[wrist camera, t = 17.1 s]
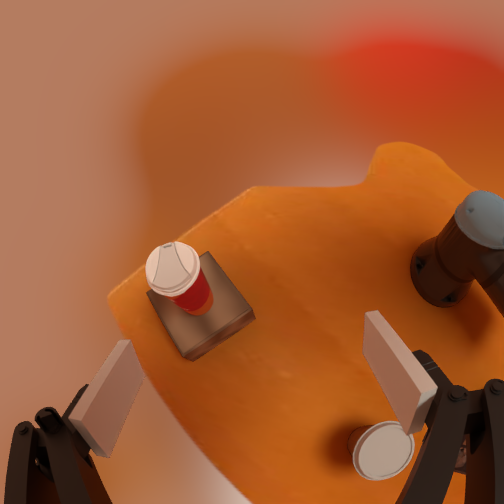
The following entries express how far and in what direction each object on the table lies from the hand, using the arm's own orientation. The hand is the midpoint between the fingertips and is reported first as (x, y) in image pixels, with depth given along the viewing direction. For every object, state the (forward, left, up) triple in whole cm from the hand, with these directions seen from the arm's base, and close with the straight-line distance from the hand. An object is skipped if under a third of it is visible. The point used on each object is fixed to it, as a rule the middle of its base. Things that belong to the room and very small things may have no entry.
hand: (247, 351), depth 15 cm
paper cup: (+2, -18, -30) cm, 34 cm away
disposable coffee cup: (-6, +20, -36) cm, 42 cm away
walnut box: (+2, -18, -36) cm, 40 cm away
